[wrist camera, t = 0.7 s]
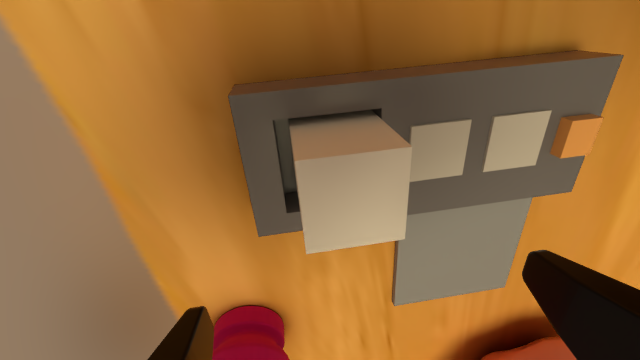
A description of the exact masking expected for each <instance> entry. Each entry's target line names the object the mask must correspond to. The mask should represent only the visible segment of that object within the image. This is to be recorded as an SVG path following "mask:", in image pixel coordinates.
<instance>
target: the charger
mask: <svg viewBox="0 0 640 360" xmlns="http://www.w3.org/2000/svg"><path fill="white" fill-rule="evenodd" d="M288 122H289V130H290V138H291V146H292V154H293V162H294V170H295V178H296V186H297V193H298V200H299V207H300V214H301V221H302V227H303V234H304V241H305V248H306V254H311V253H317V252H324V251H330V250H337V249H344V248H350V247H357V246H363V245H370V244H377V243H383V242H390V241H396V240H403V239H405V233H406V220H407V207H408V195H409V182H410V169H411V157H412V146H411V145H410V144H409V143H408V142H406V141H405V140H404V139H403V138H402V137H401V136H400V135H399V134H398V133H396V132H395V131H394V130H393V129H392V128H391V127H390V126H389V125H387V124H386V123H385V122H384V121H383V120H382V119H381V118H380V117H378V116H377V115H376V114H375V113H374V112H373V111H372V110H362V111H353V112H344V113H335V114H326V115H317V116H308V117H299V118H290V119H288Z"/></svg>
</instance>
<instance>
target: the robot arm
mask: <svg viewBox="0 0 640 360" xmlns="http://www.w3.org/2000/svg"><path fill="white" fill-rule="evenodd" d="M522 277H523V280H524V282H525V283H526V285H527V287H528V288H529V290H530V291H531V293H532V295H533V296H534V298H535V299H536V301H537V303H538V304H539V306H540V307H541V309H542V310H543V312H544V314H545V315H546V317H547V318H548V320H549V322H550V323H551V325H552V326H553V328H554V329H555V331H556V332H557V334H558V335H559V336H560V338H561V339H562V341H563V342H564V343H565V345H566V346H567V347H568V348H569V350H570V351H571V352H572V354H573V355H574V356H575V358H576V359H577V360H640V290H638V289H636V288H634V287H631V286H629V285H627V284H625V283H622V282H620V281H618V280H615V279H613V278H611V277H608V276H606V275H604V274H601V273H599V272H597V271H594V270H592V269H590V268H587V267H585V266H583V265H580V264H578V263H576V262H573V261H571V260H569V259H566V258H564V257H562V256H559V255H557V254H555V253H552V252H550V251H547V250H539V251H533V252H530V253H529V254H528V256H527V259H526V262H525V265H524V268H523V271H522ZM213 342H214V327H213V324H212V321H211V319H210V316H209V314H208V311H207V309H206V307H204V306H200V307H194V308H189V309H188V310H187V311H186V312H185V313H184V314H183V315H182V317H181V318H180V319H179V321H178V322H177V323H176V324H175V326H174V327H173V328H172V329H171V331H170V332H169V333H168V334H167V336H166V337H165V338H164V339H163V341H162V342H161V343H160V345H159V346H158V347H157V348H156V350H155V351H154V352H153V353H152V355H151V356H150V357H149V358H148V360H212V356H213Z"/></svg>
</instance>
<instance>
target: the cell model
mask: <svg viewBox="0 0 640 360" xmlns="http://www.w3.org/2000/svg"><path fill="white" fill-rule="evenodd" d="M481 360H577V359H576V358H575V356H574V355H573V354H572V352H571V351H570V350H569V348H568V347H567V346H566V345H565V343H564V342H563V341H562V339H561V338H560V337H548V338H542V339H538V340H535V341H533V342H531V343H528V344H526V345H524V346H521V347H518V348H514V349H511V350H506V351H497V352H492V353H489V354H487V355H485V356H484V357H483V358H482V359H481Z"/></svg>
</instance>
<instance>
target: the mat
mask: <svg viewBox="0 0 640 360" xmlns="http://www.w3.org/2000/svg"><path fill="white" fill-rule="evenodd" d="M532 198H533V197H531V198H525V199H518V200H511V201H504V202H497V203H490V204H483V205H476V206H469V207H462V208H455V209H448V210H441V211H434V212H427V213H420V214H413V215H407V220H406V233H405V239H403V240H396V244H395V260H394V276H393V293H392V302H393V304H394V306H397V305H403V304H409V303H415V302H421V301H427V300H433V299H439V298H444V297H450V296H456V295H462V294H468V293H474V292H480V291H485V290H491V289H497V288H503V287H505V284H506V281H507V278H508V275H509V271H510V268H511V265H512V262H513V259H514V255H515V252H516V249H517V246H518V243H519V239H520V236H521V233H522V230H523V226H524V223H525V220H526V217H527V214H528V210H529V207H530V204H531V201H532Z"/></svg>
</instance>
